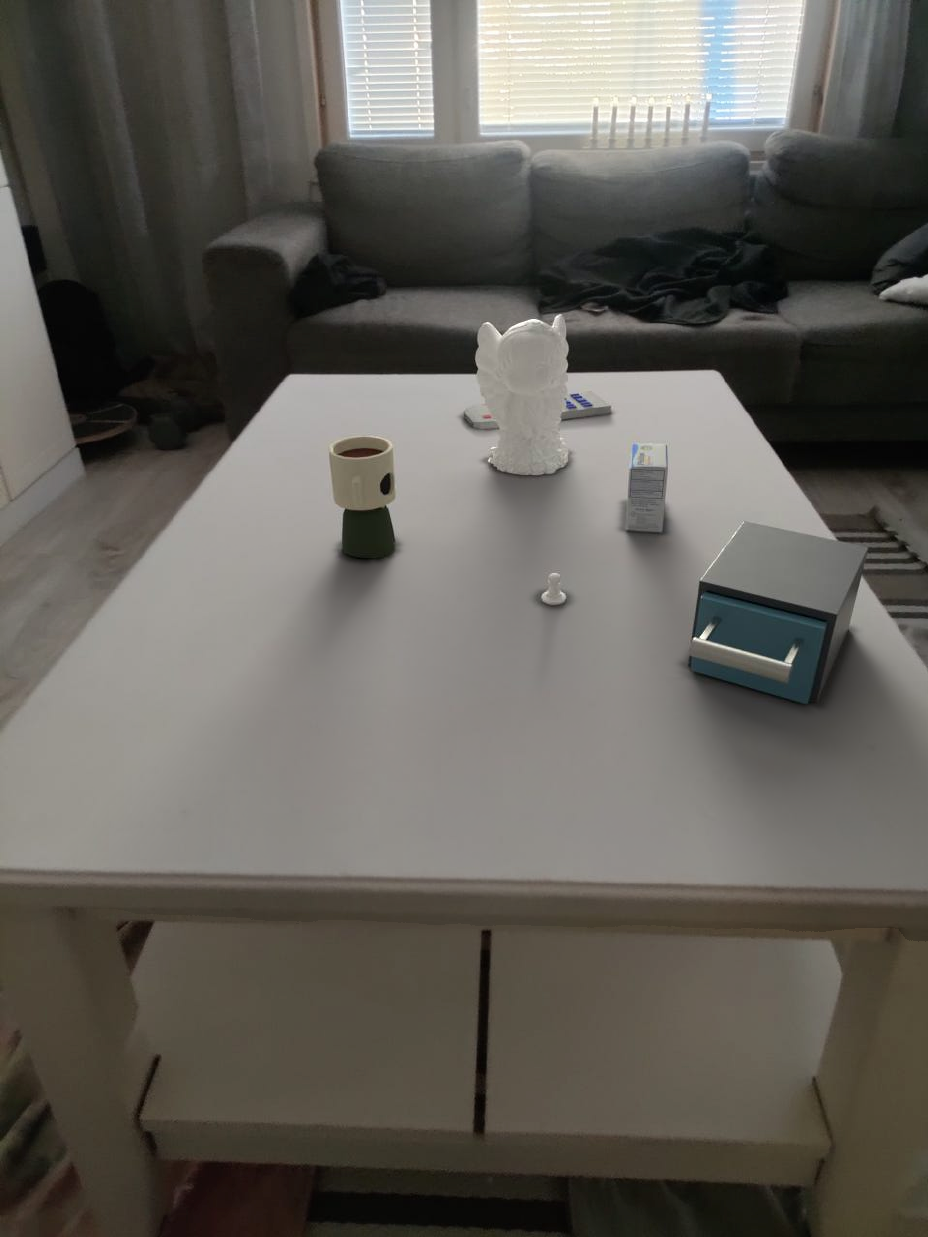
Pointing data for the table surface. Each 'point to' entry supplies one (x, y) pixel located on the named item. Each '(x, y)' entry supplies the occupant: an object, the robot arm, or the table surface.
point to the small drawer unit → (791, 581)
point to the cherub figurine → (525, 393)
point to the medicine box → (647, 487)
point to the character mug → (364, 494)
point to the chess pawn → (553, 591)
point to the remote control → (575, 407)
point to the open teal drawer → (757, 646)
